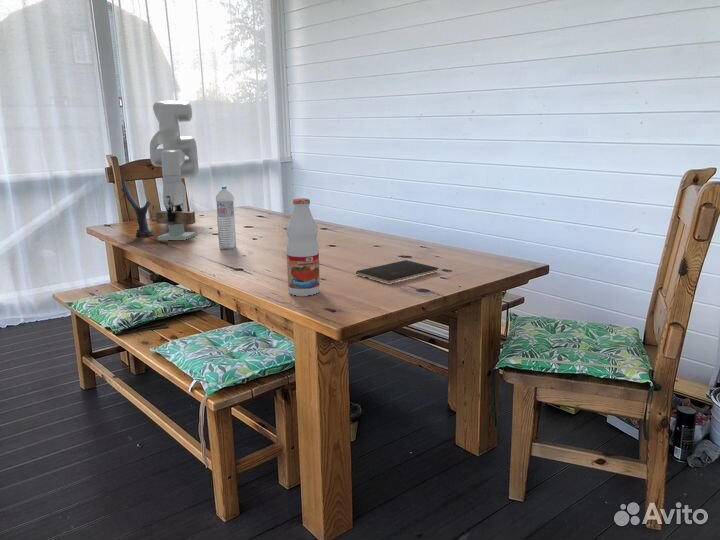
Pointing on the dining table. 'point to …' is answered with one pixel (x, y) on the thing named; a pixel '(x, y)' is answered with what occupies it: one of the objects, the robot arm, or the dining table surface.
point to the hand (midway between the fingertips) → (175, 219)
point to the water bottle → (226, 219)
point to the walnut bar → (176, 217)
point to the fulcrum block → (176, 233)
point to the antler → (138, 213)
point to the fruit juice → (302, 251)
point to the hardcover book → (396, 271)
